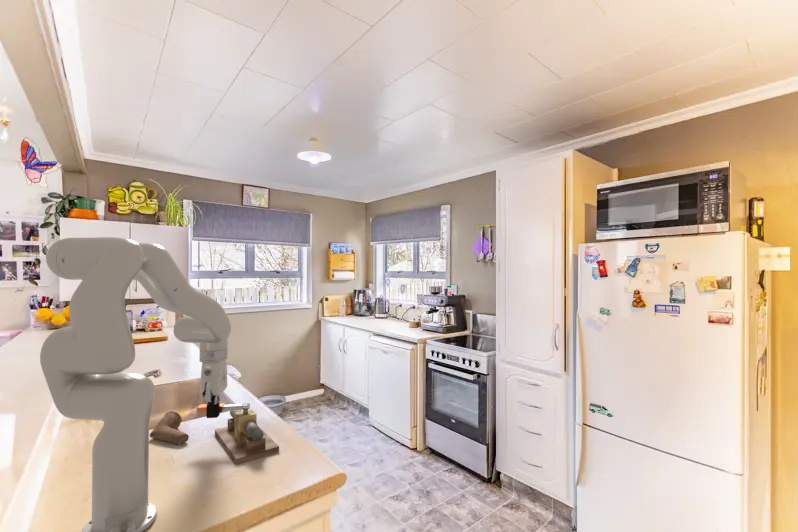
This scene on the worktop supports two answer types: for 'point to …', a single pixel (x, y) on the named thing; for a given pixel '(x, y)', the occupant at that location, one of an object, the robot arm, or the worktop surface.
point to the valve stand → (245, 437)
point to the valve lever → (224, 407)
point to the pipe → (169, 429)
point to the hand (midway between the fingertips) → (213, 416)
